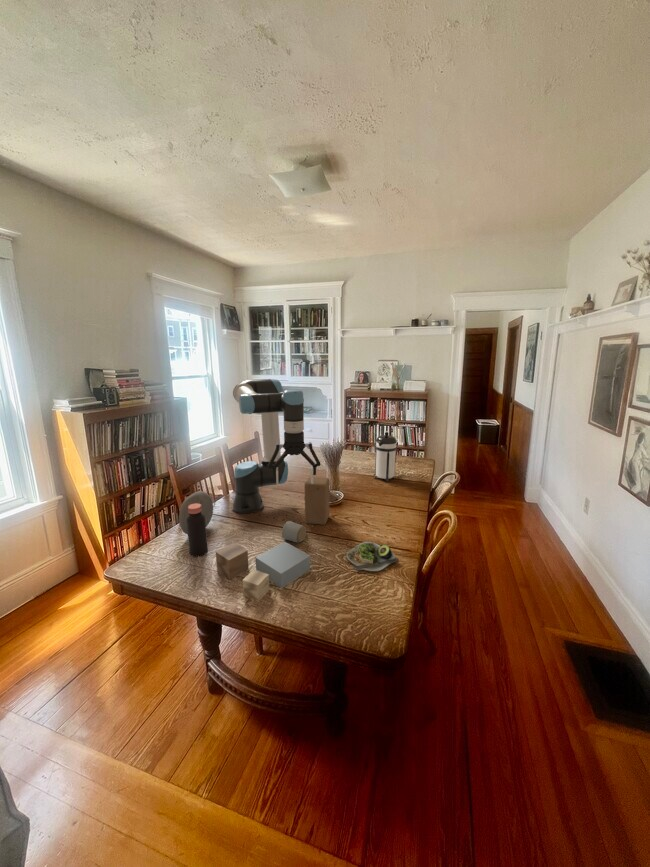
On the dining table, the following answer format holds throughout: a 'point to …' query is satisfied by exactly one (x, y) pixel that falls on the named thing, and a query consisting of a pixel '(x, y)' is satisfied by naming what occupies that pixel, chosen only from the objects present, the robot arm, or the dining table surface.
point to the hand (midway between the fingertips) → (294, 483)
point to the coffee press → (385, 456)
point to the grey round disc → (192, 499)
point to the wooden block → (317, 500)
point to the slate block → (283, 564)
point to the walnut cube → (232, 560)
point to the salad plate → (371, 556)
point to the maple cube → (256, 585)
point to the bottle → (196, 531)
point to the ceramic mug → (293, 532)
